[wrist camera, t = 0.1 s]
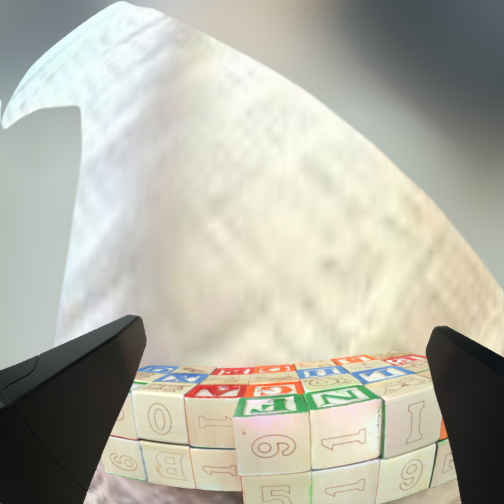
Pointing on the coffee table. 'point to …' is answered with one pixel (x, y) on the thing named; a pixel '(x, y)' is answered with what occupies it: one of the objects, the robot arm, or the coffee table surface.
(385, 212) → the coffee table surface
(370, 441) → the stack of blocks
